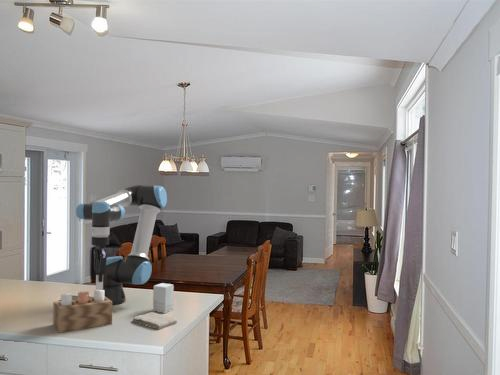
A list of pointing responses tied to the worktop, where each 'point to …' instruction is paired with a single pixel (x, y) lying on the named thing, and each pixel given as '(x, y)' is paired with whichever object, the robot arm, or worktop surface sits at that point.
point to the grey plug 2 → (99, 295)
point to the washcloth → (155, 320)
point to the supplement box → (163, 297)
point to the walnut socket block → (82, 314)
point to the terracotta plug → (83, 297)
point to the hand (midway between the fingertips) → (99, 288)
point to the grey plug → (66, 299)
